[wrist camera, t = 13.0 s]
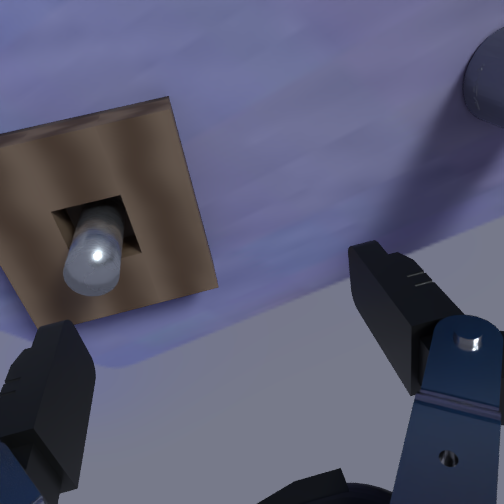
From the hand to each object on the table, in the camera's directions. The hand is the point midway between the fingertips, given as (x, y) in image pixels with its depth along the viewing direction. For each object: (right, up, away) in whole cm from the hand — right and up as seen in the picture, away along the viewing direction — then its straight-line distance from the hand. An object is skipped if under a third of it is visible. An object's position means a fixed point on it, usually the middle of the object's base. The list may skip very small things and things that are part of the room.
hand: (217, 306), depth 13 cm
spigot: (-13, +5, +30) cm, 33 cm away
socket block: (-14, +6, +31) cm, 34 cm away
